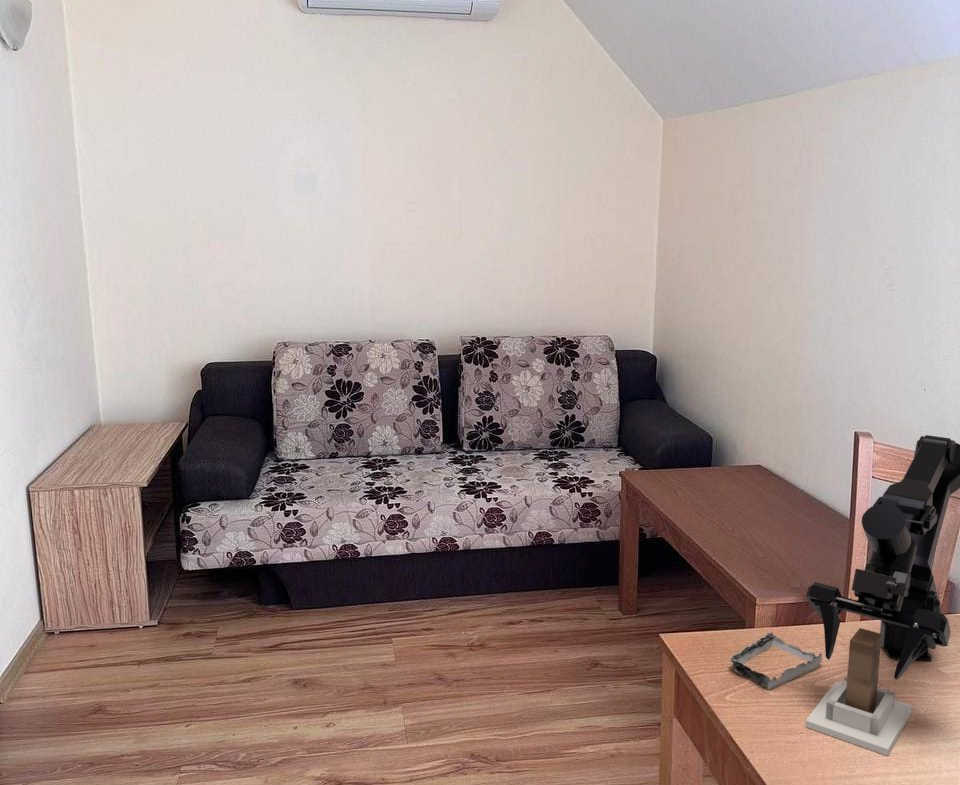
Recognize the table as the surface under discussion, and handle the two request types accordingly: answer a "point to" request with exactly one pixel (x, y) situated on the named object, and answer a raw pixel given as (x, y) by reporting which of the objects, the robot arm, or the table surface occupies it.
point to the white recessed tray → (860, 719)
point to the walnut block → (863, 670)
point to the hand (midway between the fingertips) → (860, 668)
